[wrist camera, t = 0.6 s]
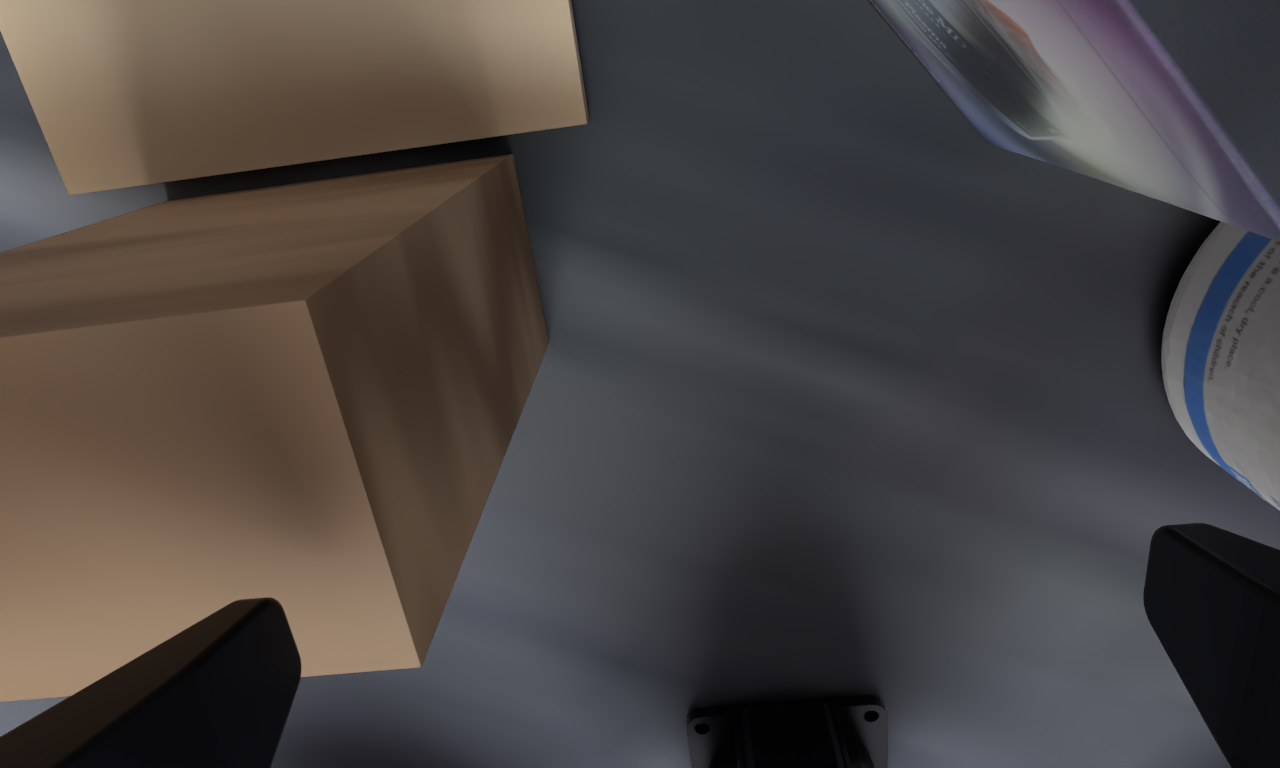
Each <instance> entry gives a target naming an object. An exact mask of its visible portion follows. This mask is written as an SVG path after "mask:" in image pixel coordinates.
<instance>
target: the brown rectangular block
mask: <svg viewBox="0 0 1280 768" xmlns="http://www.w3.org/2000/svg"><path fill="white" fill-rule="evenodd" d="M548 344H549V341H548V336H547V331H546V325H545V320H544V315H543V310H542V304H541V299H540V294H539V289H538V283H537V278H536V273H535V268H534V263H533V257H532V252H531V247H530V242H529V236H528V231H527V226H526V221H525V215H524V210H523V205H522V200H521V194H520V189H519V184H518V179H517V174H516V168H515V163H514V158H513V154H507V155H500V156H492V157H485V158H477V159H470V160H463V161H455V162H448V163H441V164H433V165H426V166H419V167H411V168H404V169H396V170H389V171H382V172H374V173H367V174H360V175H352V176H345V177H338V178H330V179H323V180H316V181H308V182H301V183H293V184H286V185H279V186H271V187H264V188H257V189H249V190H242V191H235V192H227V193H220V194H212V195H205V196H198V197H190V198H183V199H176V200H168V201H165V202H162V203H159V204H155V205H152V206H149V207H146V208H143V209H139V210H136V211H133V212H130V213H126V214H123V215H120V216H117V217H114V218H110V219H107V220H104V221H101V222H98V223H94V224H91V225H88V226H85V227H81V228H78V229H75V230H72V231H69V232H65V233H62V234H59V235H56V236H53V237H49V238H46V239H43V240H40V241H37V242H33V243H30V244H27V245H24V246H20V247H17V248H14V249H11V250H8V251H4V252H1V253H0V702H3V701H16V700H28V699H40V698H52V697H64V696H72V695H73V694H75V693H77V692H78V691H80V690H82V689H84V688H85V687H87V686H89V685H90V684H92V683H94V682H96V681H97V680H99V679H101V678H103V677H104V676H106V675H108V674H109V673H111V672H113V671H115V670H116V669H118V668H120V667H121V666H123V665H125V664H127V663H128V662H130V661H132V660H133V659H135V658H137V657H139V656H140V655H142V654H144V653H146V652H147V651H149V650H151V649H152V648H154V647H156V646H158V645H159V644H161V643H163V642H164V641H166V640H168V639H170V638H171V637H173V636H175V635H177V634H178V633H180V632H182V631H183V630H185V629H187V628H189V627H190V626H192V625H194V624H195V623H197V622H199V621H201V620H202V619H204V618H206V617H208V616H209V615H211V614H213V613H214V612H216V611H218V610H220V609H221V608H223V607H225V606H226V605H228V604H230V603H232V602H234V601H237V600H240V599H253V598H265V597H272V598H274V599H276V600H278V601H279V602H280V604H281V605H282V607H283V609H284V611H285V614H286V617H287V620H288V623H289V626H290V628H291V631H292V634H293V637H294V640H295V643H296V645H297V648H298V651H299V654H300V658H301V665H302V667H301V677H308V676H320V675H332V674H345V673H357V672H369V671H381V670H393V669H405V668H418V667H421V666H422V664H423V661H424V659H425V656H426V653H427V651H428V648H429V646H430V643H431V641H432V638H433V636H434V633H435V631H436V628H437V626H438V623H439V620H440V618H441V615H442V613H443V610H444V608H445V605H446V603H447V600H448V598H449V595H450V593H451V590H452V588H453V585H454V582H455V580H456V577H457V575H458V572H459V570H460V567H461V565H462V562H463V560H464V557H465V555H466V552H467V549H468V547H469V544H470V542H471V539H472V537H473V534H474V532H475V529H476V527H477V524H478V522H479V519H480V516H481V514H482V511H483V509H484V506H485V504H486V501H487V499H488V496H489V494H490V491H491V489H492V486H493V484H494V481H495V478H496V476H497V473H498V471H499V468H500V466H501V463H502V461H503V458H504V456H505V453H506V451H507V448H508V445H509V443H510V440H511V438H512V435H513V433H514V430H515V428H516V425H517V423H518V420H519V418H520V415H521V412H522V410H523V407H524V405H525V402H526V400H527V397H528V395H529V392H530V390H531V387H532V385H533V382H534V379H535V377H536V374H537V372H538V369H539V367H540V364H541V362H542V359H543V357H544V354H545V352H546V349H547V347H548Z"/></svg>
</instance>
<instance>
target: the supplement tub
mask: <svg viewBox="0 0 1280 768" xmlns="http://www.w3.org/2000/svg"><path fill="white" fill-rule="evenodd" d="M1161 364H1162V375H1163V382H1164V388H1165V391H1166V394H1167V398H1168V401H1169V404H1170V406H1171V408H1172V411H1173V413H1174V415H1175V418H1176V420H1177V421H1178V423H1179V424H1180V426H1181V427H1182V429H1183V430H1184V432H1185V434H1186V435H1187V436H1188V438H1189V439H1190V440H1191V441H1192V442H1193V443H1194V444H1195V445H1196V447H1197V448H1198V449H1199V450H1201V451H1202V452H1203V453H1204V454H1205V455H1206V456H1207V457H1208V458H1210V459H1211V460H1212V461H1214V462H1215V463H1217V464H1218V465H1219V466H1221V467H1222V468H1223V469H1224V470H1226V471H1227V472H1228V473H1230V474H1231V475H1232V476H1234V477H1235V478H1236V479H1238V480H1239V481H1240V482H1241V483H1243V484H1244V485H1246V486H1247V487H1248V488H1250V489H1251V490H1252V491H1254V492H1255V493H1256V494H1257V495H1259V496H1260V497H1261V498H1262V499H1264V500H1265V501H1267V502H1268V503H1270V504H1271V505H1273V506H1274V507H1275V508H1277V509H1278V510H1279V511H1280V241H1278V240H1274V239H1271V238H1268V237H1265V236H1262V235H1259V234H1256V233H1253V232H1250V231H1248V230H1245V229H1242V228H1239V227H1236V226H1233V225H1230V224H1227V223H1224V222H1220V223H1219V224H1218V225H1217V226H1216V228H1215V229H1214V230H1213V231H1212V233H1211V234H1210V235H1209V236H1208V237H1207V239H1206V240H1205V241H1204V242H1203V244H1202V245H1201V247H1200V248H1199V249H1198V251H1197V252H1196V254H1195V256H1194V257H1193V259H1192V261H1191V262H1190V264H1189V266H1188V267H1187V269H1186V271H1185V272H1184V274H1183V276H1182V278H1181V280H1180V282H1179V285H1178V287H1177V289H1176V292H1175V294H1174V297H1173V299H1172V302H1171V305H1170V308H1169V311H1168V315H1167V319H1166V323H1165V326H1164V330H1163V339H1162V349H1161Z"/></svg>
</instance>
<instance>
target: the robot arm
mask: <svg viewBox="0 0 1280 768" xmlns="http://www.w3.org/2000/svg"><path fill="white" fill-rule="evenodd" d="M1143 599H1144V607H1145V611H1146V614H1147V617H1148V620H1149V622H1150V624H1151V626H1152V627H1153V629H1154V631H1155V633H1156V635H1157V636H1158V638H1159V640H1160V642H1161V644H1162V645H1163V647H1164V649H1165V651H1166V653H1167V654H1168V656H1169V658H1170V660H1171V662H1172V663H1173V665H1174V667H1175V669H1176V671H1177V672H1178V674H1179V676H1180V678H1181V680H1182V681H1183V683H1184V685H1185V687H1186V689H1187V690H1188V692H1189V694H1190V696H1191V698H1192V699H1193V701H1194V703H1195V705H1196V707H1197V708H1198V710H1199V712H1200V714H1201V716H1202V717H1203V719H1204V721H1205V723H1206V725H1207V726H1208V728H1209V730H1210V732H1211V734H1212V735H1213V737H1214V739H1215V741H1216V742H1217V744H1218V746H1219V748H1220V749H1221V751H1222V753H1223V754H1224V756H1225V758H1226V759H1227V761H1228V763H1229V764H1230V766H1231V767H1232V768H1280V550H1278V549H1275V548H1273V547H1270V546H1267V545H1264V544H1261V543H1259V542H1256V541H1253V540H1250V539H1248V538H1245V537H1242V536H1239V535H1237V534H1234V533H1231V532H1228V531H1226V530H1223V529H1220V528H1217V527H1215V526H1212V525H1209V524H1205V523H1191V524H1179V525H1167V526H1162V527H1160V528H1159V529H1157V530H1156V531H1155V532H1154V534H1153V536H1152V539H1151V544H1150V551H1149V558H1148V565H1147V572H1146V579H1145V587H1144V597H1143ZM301 667H302V665H301V658H300V654H299V651H298V648H297V645H296V643H295V640H294V637H293V634H292V631H291V628H290V626H289V623H288V620H287V617H286V614H285V611H284V609H283V607H282V605H281V604H280V602H279V601H278V600H276V599H274V598H272V597H265V598H253V599H240V600H237V601H234V602H232V603H230V604H228V605H226V606H225V607H223V608H221V609H220V610H218V611H216V612H214V613H213V614H211V615H209V616H208V617H206V618H204V619H202V620H201V621H199V622H197V623H195V624H194V625H192V626H190V627H189V628H187V629H185V630H183V631H182V632H180V633H178V634H177V635H175V636H173V637H171V638H170V639H168V640H166V641H164V642H163V643H161V644H159V645H158V646H156V647H154V648H152V649H151V650H149V651H147V652H146V653H144V654H142V655H140V656H139V657H137V658H135V659H133V660H132V661H130V662H128V663H127V664H125V665H123V666H121V667H120V668H118V669H116V670H115V671H113V672H111V673H109V674H108V675H106V676H104V677H103V678H101V679H99V680H97V681H96V682H94V683H92V684H90V685H89V686H87V687H85V688H84V689H82V690H80V691H78V692H77V693H75V694H73V695H72V696H70V697H68V698H66V699H65V700H63V701H61V702H59V703H58V704H56V705H54V706H53V707H51V708H49V709H47V710H46V711H44V712H42V713H41V714H39V715H37V716H35V717H34V718H32V719H30V720H29V721H27V722H25V723H23V724H22V725H20V726H18V727H16V728H15V729H13V730H11V731H10V732H8V733H6V734H4V735H3V736H1V737H0V768H271V765H272V762H273V759H274V756H275V753H276V750H277V747H278V744H279V741H280V738H281V735H282V733H283V730H284V727H285V724H286V721H287V718H288V715H289V712H290V709H291V706H292V703H293V700H294V697H295V694H296V691H297V688H298V685H299V682H300V678H301ZM870 710H873V711H872V712H869V713H868V712H867V711H870ZM699 723H706V724H703V725H700V724H699ZM687 733H688V740H689V747H690V754H691V760H692V767H693V768H887V714H886V710H885V707H884V704H883V701H882V700H881V699H880V698H879V697H876V696H873V695H864V696H851V697H837V698H824V699H811V700H797V701H784V702H771V703H757V704H744V705H731V706H718V707H704V708H697V709H694V710H692V711H691V712H690V713H689V714H688V715H687Z"/></svg>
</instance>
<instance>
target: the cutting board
mask: <svg viewBox="0 0 1280 768" xmlns="http://www.w3.org/2000/svg"><path fill="white" fill-rule="evenodd" d="M0 31H1V33H2V36H3V38H4V41H5V43H6V45H7V48H8V50H9V53H10V55H11V57H12V60H13V62H14V65H15V67H16V69H17V72H18V74H19V77H20V79H21V81H22V84H23V86H24V89H25V91H26V93H27V96H28V98H29V101H30V103H31V105H32V108H33V110H34V112H35V115H36V117H37V120H38V122H39V124H40V127H41V129H42V132H43V134H44V136H45V139H46V141H47V144H48V146H49V148H50V151H51V153H52V156H53V158H54V160H55V163H56V165H57V168H58V170H59V172H60V175H61V177H62V180H63V182H64V184H65V187H66V189H67V192H68V194H69V195H75V194H83V193H90V192H97V191H104V190H112V189H119V188H126V187H133V186H141V185H148V184H155V183H162V182H170V181H177V180H184V179H191V178H199V177H206V176H213V175H220V174H228V173H235V172H242V171H249V170H257V169H264V168H271V167H278V166H286V165H293V164H300V163H307V162H315V161H322V160H329V159H336V158H344V157H351V156H358V155H365V154H373V153H380V152H387V151H394V150H402V149H409V148H416V147H423V146H431V145H438V144H445V143H452V142H460V141H467V140H474V139H481V138H489V137H496V136H503V135H510V134H518V133H525V132H532V131H539V130H547V129H554V128H561V127H568V126H576V125H583V124H588V123H589V115H588V109H587V102H586V95H585V89H584V82H583V76H582V69H581V62H580V56H579V49H578V42H577V36H576V29H575V23H574V16H573V9H572V3H571V0H0Z"/></svg>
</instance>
